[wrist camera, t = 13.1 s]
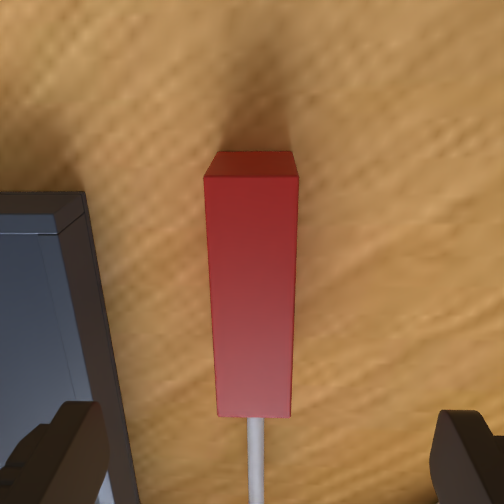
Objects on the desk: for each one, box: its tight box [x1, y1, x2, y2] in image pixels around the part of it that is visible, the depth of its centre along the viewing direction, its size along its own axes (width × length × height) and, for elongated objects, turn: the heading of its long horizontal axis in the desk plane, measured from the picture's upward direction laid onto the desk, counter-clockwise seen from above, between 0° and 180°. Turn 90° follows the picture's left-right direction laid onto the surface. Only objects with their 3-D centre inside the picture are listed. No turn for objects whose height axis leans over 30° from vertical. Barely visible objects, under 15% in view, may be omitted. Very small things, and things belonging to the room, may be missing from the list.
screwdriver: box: [203, 151, 299, 504], centre depth 19 cm, size 20×3×4 cm, turn 1°
